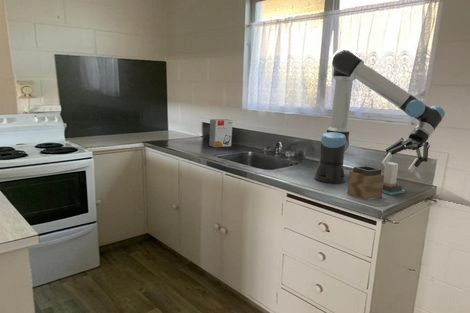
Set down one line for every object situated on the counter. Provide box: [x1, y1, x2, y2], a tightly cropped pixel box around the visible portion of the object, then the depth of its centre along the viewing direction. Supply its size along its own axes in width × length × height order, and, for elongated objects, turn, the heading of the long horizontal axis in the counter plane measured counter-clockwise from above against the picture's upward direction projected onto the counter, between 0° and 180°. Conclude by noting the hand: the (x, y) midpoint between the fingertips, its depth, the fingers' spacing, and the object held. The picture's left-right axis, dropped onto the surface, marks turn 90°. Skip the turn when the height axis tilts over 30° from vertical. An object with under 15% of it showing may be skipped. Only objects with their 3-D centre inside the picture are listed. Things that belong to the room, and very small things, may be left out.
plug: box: [383, 161, 399, 187], centre depth 156 cm, size 4×4×12 cm
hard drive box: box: [208, 118, 234, 148], centre depth 255 cm, size 16×8×20 cm, turn 125°
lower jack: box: [382, 183, 406, 196], centre depth 157 cm, size 10×10×3 cm
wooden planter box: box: [347, 165, 384, 201], centre depth 149 cm, size 10×10×12 cm
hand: (396, 167), depth 156 cm, fingers open, 13 cm apart
